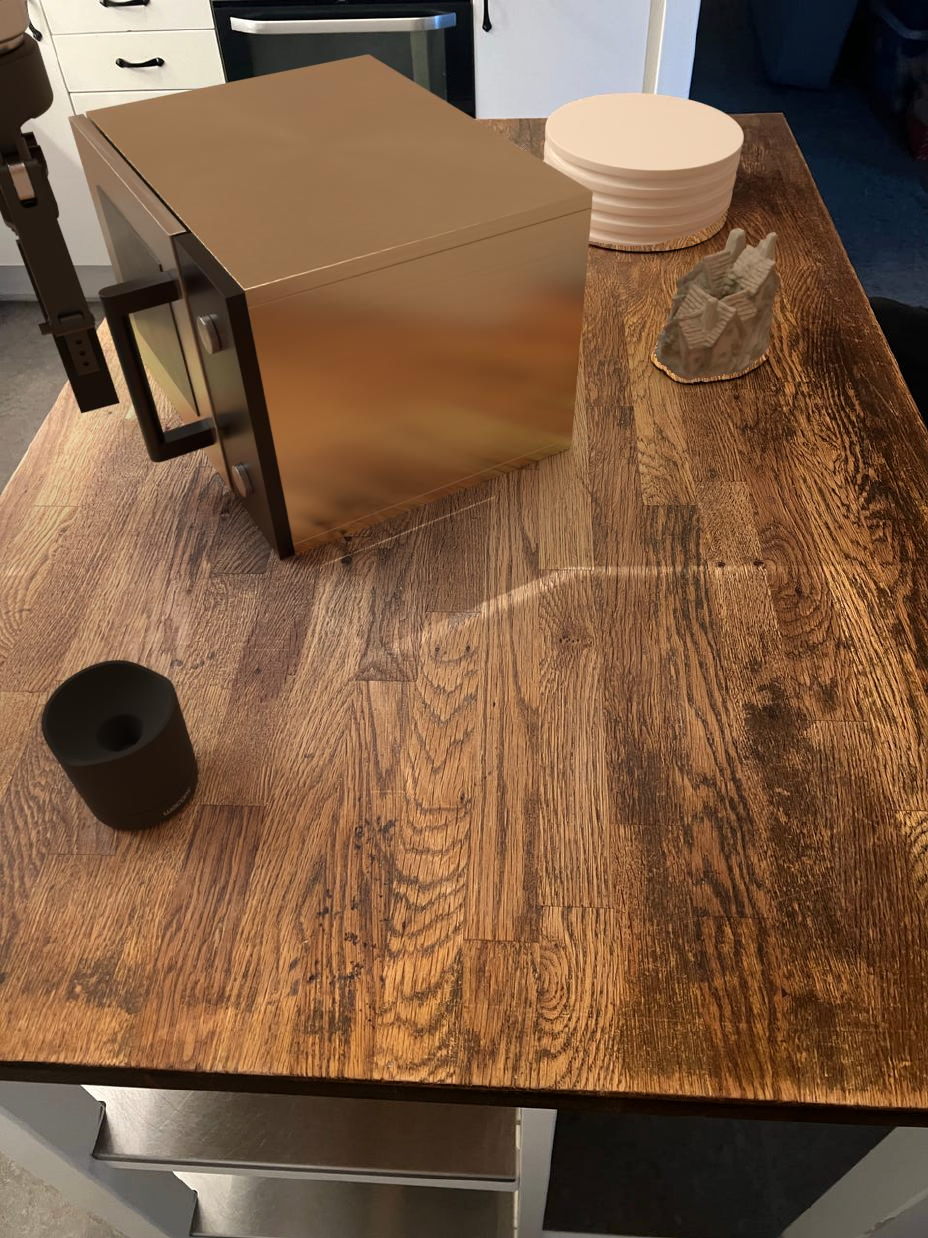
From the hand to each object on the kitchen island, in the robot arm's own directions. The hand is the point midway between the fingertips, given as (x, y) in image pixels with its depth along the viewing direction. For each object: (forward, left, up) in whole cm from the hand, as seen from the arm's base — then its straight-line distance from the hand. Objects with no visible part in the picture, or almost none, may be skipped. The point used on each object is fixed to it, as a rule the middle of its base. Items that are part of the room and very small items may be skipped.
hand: (80, 359), depth 72 cm
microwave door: (-11, +26, -25) cm, 38 cm away
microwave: (+8, +34, -25) cm, 43 cm away
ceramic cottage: (+50, +52, -26) cm, 77 cm away
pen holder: (+6, -20, -26) cm, 33 cm away
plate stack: (+40, +89, -26) cm, 101 cm away
